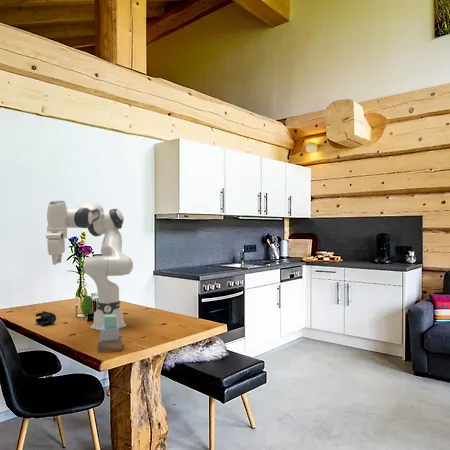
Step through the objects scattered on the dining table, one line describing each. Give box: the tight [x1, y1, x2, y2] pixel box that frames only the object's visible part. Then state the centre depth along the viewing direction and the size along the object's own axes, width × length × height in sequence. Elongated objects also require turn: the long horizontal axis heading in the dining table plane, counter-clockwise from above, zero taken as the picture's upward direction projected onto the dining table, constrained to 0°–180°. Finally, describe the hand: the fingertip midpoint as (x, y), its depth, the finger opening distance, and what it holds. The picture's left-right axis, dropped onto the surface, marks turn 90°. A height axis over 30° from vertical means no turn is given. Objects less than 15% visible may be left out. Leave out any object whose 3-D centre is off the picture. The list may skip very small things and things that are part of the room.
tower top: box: [99, 324, 120, 341], centre depth 177 cm, size 8×8×5 cm
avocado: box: [80, 295, 93, 316], centre depth 245 cm, size 8×8×12 cm
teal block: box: [104, 314, 116, 329], centre depth 177 cm, size 5×5×5 cm
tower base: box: [97, 333, 123, 353], centre depth 177 cm, size 10×10×5 cm
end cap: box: [35, 310, 57, 328], centre depth 221 cm, size 10×7×7 cm
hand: (57, 263), depth 188 cm, fingers open, 8 cm apart
